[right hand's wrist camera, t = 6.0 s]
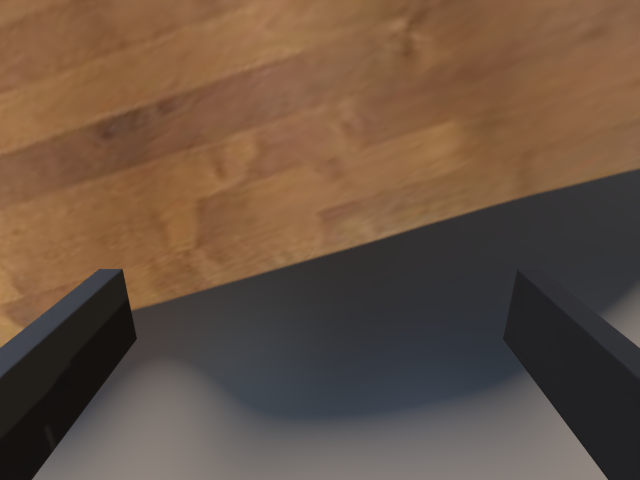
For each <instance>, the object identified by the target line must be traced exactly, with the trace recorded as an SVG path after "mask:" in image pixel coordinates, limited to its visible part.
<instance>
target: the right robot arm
mask: <svg viewBox="0 0 640 480" xmlns="http://www.w3.org/2000/svg"><path fill="white" fill-rule="evenodd" d="M136 339H137V338H136V333H135V328H134V323H133V318H132V313H131V308H130V303H129V299H128V294H127V289H126V284H125V279H124V274H123V269H99V270H98V271H96V272H95V273H94V274H93V275H91V276H90V277H89V278H88V279H86V280H85V281H84V282H83V283H81V284H80V285H79V286H78V287H76V288H75V289H74V290H73V291H71V292H70V293H69V294H68V295H66V296H65V297H64V298H63V299H61V300H60V301H59V302H58V303H56V304H55V305H54V306H53V307H51V308H50V309H49V310H48V311H46V312H45V313H44V314H43V315H41V316H40V317H39V318H38V319H36V320H35V321H34V322H32V323H31V324H30V325H29V326H27V327H26V328H25V329H24V330H22V331H21V332H20V333H19V334H17V335H16V336H15V337H14V338H12V339H11V340H10V341H9V342H7V343H6V344H5V345H4V346H2V347H1V348H0V480H32V479H33V477H34V476H35V475H36V473H37V472H38V471H39V469H40V468H41V467H42V465H43V464H44V463H45V461H46V460H47V459H48V457H49V456H50V455H51V453H52V452H53V451H54V449H55V448H56V446H57V445H58V444H59V442H60V441H61V440H62V438H63V437H64V436H65V434H66V433H67V432H68V430H69V429H70V428H71V426H72V425H73V424H74V422H75V421H76V420H77V418H78V417H79V416H80V414H81V413H82V412H83V410H84V409H85V408H86V406H87V405H88V404H89V402H90V401H91V400H92V398H93V397H94V396H95V394H96V393H97V392H98V390H99V389H100V388H101V386H102V385H103V383H104V382H105V381H106V379H107V378H108V377H109V375H110V374H111V373H112V371H113V370H114V369H115V367H116V366H117V365H118V363H119V362H120V361H121V359H122V358H123V357H124V355H125V354H126V353H127V351H128V350H129V349H130V347H131V346H132V345H133V343H134V342H135V341H136ZM503 339H504V341H505V342H506V343H507V345H508V346H509V347H510V349H511V350H512V351H513V353H514V354H515V355H516V357H517V358H518V359H519V361H520V362H521V363H522V365H523V366H524V367H525V369H526V370H527V371H528V373H529V374H530V375H531V377H532V378H533V379H534V381H535V382H536V383H537V385H538V386H539V388H540V389H541V390H542V392H543V393H544V394H545V396H546V397H547V398H548V399H549V401H550V402H551V404H552V405H553V406H554V408H555V409H556V410H557V412H558V413H559V414H560V416H561V417H562V418H563V420H564V421H565V422H566V424H567V425H568V426H569V428H570V429H571V430H572V432H573V433H574V434H575V436H576V437H577V438H578V440H579V441H580V442H581V444H582V445H583V447H584V448H585V449H586V451H587V452H588V453H589V455H590V456H591V457H592V458H593V460H594V461H595V463H596V464H597V465H598V467H599V468H600V469H601V471H602V472H603V473H604V475H605V476H606V477H607V479H608V480H640V348H639V347H637V346H636V345H635V344H634V343H633V342H631V341H630V340H629V339H628V338H626V337H625V336H624V335H622V334H621V333H620V332H619V331H617V330H616V329H615V328H614V327H612V326H611V325H610V324H609V323H608V322H606V321H605V320H604V319H602V318H601V317H600V316H599V315H597V314H596V313H595V312H594V311H592V310H591V309H590V308H589V307H587V306H586V305H585V304H584V303H582V302H581V301H580V300H579V299H577V298H576V297H575V296H574V295H572V294H571V293H570V292H569V291H567V290H566V289H565V288H564V287H562V286H561V285H560V284H559V283H557V282H556V281H555V280H554V279H552V278H551V277H550V276H549V275H547V274H546V273H545V272H544V271H542V270H541V269H518V270H517V274H516V279H515V284H514V289H513V294H512V299H511V303H510V308H509V313H508V318H507V323H506V328H505V333H504V337H503Z"/></svg>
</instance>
